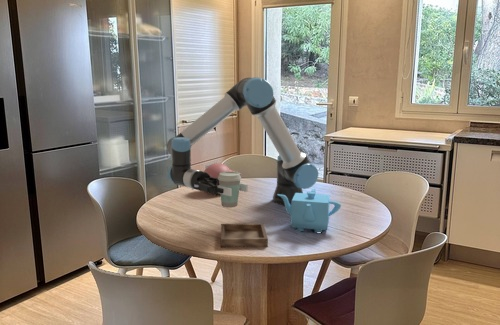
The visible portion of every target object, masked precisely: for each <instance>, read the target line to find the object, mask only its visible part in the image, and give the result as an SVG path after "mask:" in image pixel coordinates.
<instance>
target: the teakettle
mask: <svg viewBox="0 0 500 325" xmlns="http://www.w3.org/2000/svg"><path fill="white" fill-rule="evenodd" d="M316 192H317V191H316V189H315V188H312V189H311V190H310V191H307V192H306V193H305V192H303V193H295V195H294V197H293V199H292V202H291V205H290V204H289V201H288V198H287V197H286V196H285V195H282V194H277V195H278V196H280V197H281V198H282V199H283V201H284V204H285V205H284V208H285V209H286V212H287V213H288V214H289V215H290V228H295V229H296V230H297V231H296V232H298V231H303V230H304V231H305V229H308V230H314V233H315V232H322V233H323V231H328V227H329V221H330V217H331V216H333V215H334V214H335V213H337V212H338V211H339V210H340V209H341V207H342V205H341V203H340V202H338V201H335V200H331V194H318V193H316ZM331 205H334V207H333V209H332V210H331V211H330V206H331ZM304 231H303V232H304Z"/></svg>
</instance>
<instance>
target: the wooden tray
mask: <svg viewBox="0 0 500 325" xmlns="http://www.w3.org/2000/svg"><path fill="white" fill-rule="evenodd" d="M220 228H221V229H220V248H268V247H269V241H268V240H269V238H268V235H267V230H266V227H265V224H264V223H263V222H262V223H221V224H220Z"/></svg>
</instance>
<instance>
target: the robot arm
mask: <svg viewBox="0 0 500 325" xmlns="http://www.w3.org/2000/svg"><path fill="white" fill-rule="evenodd" d="M276 103H277V100H276V98H275V96H274V89H273V86H272V84H271V83H270V82H269V81H268V80H266V79H265V78H262V77H258V76H256V77H245V78H241V80H239V81H238V82H237V83H235V84H234V85H233V86H232V87H231V88H230V89H228V90H227V91H226V92H225V93H224V97H223V98H221V99H220V100H219V101H217V103H214V105H212V107H210V108H208V110H206V111H205V112H204V113H203V114H201V115H200V116H199V117H198V118H197V119H196V120H195V121H193V122H191V123H190V124H189V125H188V126H187V127H186V128H185V129H183V130H182V131H181V132H180V133H178V134H177V135H176V136H174V137H171V138H170V139H168V141H167V142H166V148H167V152H168V153H169V154H170V155H171V159H172V160H171V163H172V164H171V166H170V167H169V168H168V171H167V173H166V177H167V179H168V181H169V182H170V183H173V184H175V185H177V186H182V187H186V188H189V189H191V190H195V191H196V190H197V191H200V192H204V193H207V194H213V195H214V196H217V194H219V195H220V194H223V195H227V196H232V189H231V188H227V187H223V186H219V180H218V178H214V177H210V176H209V174H208V173H207V172H204V171H202V170H199V169H194V168H192V163H191V162H192V158H191V157H192V156H191V155H192V154H191V153H192V152H191V150H192V149H191V148H192V147H193V145H194V144H196V143H197V142H198V141H200V140H201V139H202V138H203V137H205V136H206V135H207V134H209V133H210V131H212V130H213V129H214V128H216V127H217V126H218V125H219V124H221V123H222V122H223V121H225V120H226V119H227V118H228V117H229V116H230V115H232V113H234V112H235V111H240V110H241V109H243V108H244V107H247V108H248V111H249V112H250V114H251V116H255V117H257V119H258V120H259V122H260V124H261V125H262V128H263V129H264V131H265V132H266V134H267V136H268V138H269V139H270V141H271V142H272V144H273V146H274V148H275V149H276V152H277V153H278V156H277V159H276V160H277V161H276V187H275V190H274V192H273V195H272V202H273V203H275V204H277V205H281V206H285V204H284V201H283V199H282V198H281V197H280V196H278V195H277V194H282V195H285V196H286V197H287V198H288V201H289V204H290V205H291V202H292V199H293V197H294V195H295V193H304V192H303V191H304V190H306V189H310V188H312V187H313V186H314V185H315V184H316V183H317V181H318V178H319V170H318V168H317V166H315V164H313V163H311V162H310V160H309V157H308V156H307V154H306V153H305V152H302V151H300V149H299V147H298V145H297V143H296V142H295V140H294V138H293V136H292V134H291V133H290V130H289V129H288V127H287V125H286V123H285V122H284V120H283V119H282V116H281V115H280V112H279V111H278V109H277V107H276ZM248 185H249V184H248V183H242V182H240V187H239V192H241V191H242V192H244V193H248V191H249V190H248V189H249V186H248ZM217 192H218V193H217Z"/></svg>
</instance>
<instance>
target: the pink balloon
mask: <svg viewBox="0 0 500 325" xmlns="http://www.w3.org/2000/svg"><path fill="white" fill-rule="evenodd" d="M203 172H207V173H208V174H209V176H210V177H214V178H218V176H219V173H221V172H238V170H233V169H230V168H229V167H228V166H227V165H226V164H223V163H220V162H215V163H211V164H209V165H208V166H207V167H206V168H205V170H204V171H203ZM239 173H240V176H241V177H242V173H241V172H239ZM217 194H219V193H218V192H217Z"/></svg>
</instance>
